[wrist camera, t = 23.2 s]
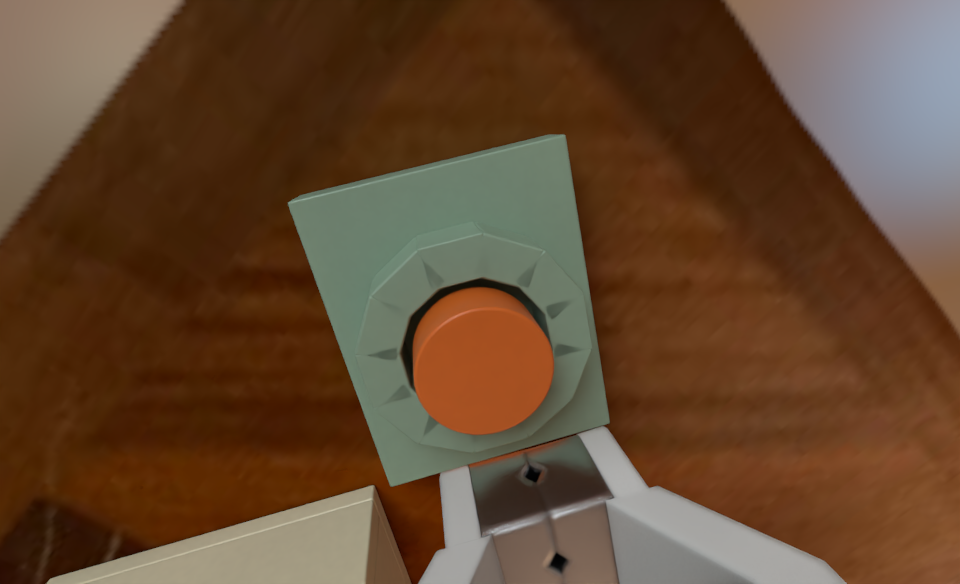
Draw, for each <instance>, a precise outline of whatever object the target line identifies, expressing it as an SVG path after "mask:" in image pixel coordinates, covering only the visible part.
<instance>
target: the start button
mask: <svg viewBox="0 0 960 584" xmlns="http://www.w3.org/2000/svg"><path fill="white" fill-rule="evenodd" d="M553 374H554V357H553V352H552V348H551V345H550V343H549V340H548V338H547V337H546V335H545V333H544V332H543V330H542V329H541V328H540V326H539V325H538V323H537V322H536V321H535V319H534V318H533V316H532V315H531V314H530V312H529V311H528V310H527V308H526V307H525V306H524V305H523V304H522V303H521V302H520V301H519V300H518V299H516V298H515V297H513V296H512V295H510V294H508V293H506V292H504V291H501V290H498V289H494V288H488V287H471V288H465V289H461V290H458V291H455V292H452V293H450V294H448V295H446V296H445V297H443V298H441V299H440V300H438V301H437V302H436V303H435V304H434V305H432V306H431V307H430V308H429V310H428V311H427V312H426V313H425V314H424V316H423V317H422V319H421V320H420V322H419V324H418V326H417V329H416V332H415V335H414V340H413V377H414V386H415V390H416V394H417V396H418V399H419V401H420V403H421V404H422V406H423V408H424V409H425V410H426V411H427V413H428V414H429V415H430V416H431V417H432V418H433V419H434V420H436V421H437V422H439V423H440V424H441V425H443V426H445V427H447V428H449V429H451V430H454V431H456V432H460V433H464V434H470V435H487V434H494V433H498V432H502V431H505V430H507V429H510V428H512V427H514V426H516V425H518V424H519V423H521V422H523V421H524V420H525V419H527V418H528V417H529V416H531V415H532V414H533V413H534V412H535V411H536V410H537V408H538V407H539V406H540V405H541V403H542V402H543V400H544V399H545V397H546V395H547V393H548V391H549V389H550V386H551V383H552V379H553Z"/></svg>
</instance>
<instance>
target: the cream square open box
mask: <svg viewBox="0 0 960 584" xmlns="http://www.w3.org/2000/svg"><path fill="white" fill-rule="evenodd" d="M46 584H411V581H410V578H409V576H408V573H407V570H406V568H405V565H404V562H403V560H402V557H401V554H400V552H399V549H398V546H397V544H396V541H395V538H394V536H393V533H392V531H391V528H390V525H389V523H388V520H387V517H386V515H385V512H384V509H383V507H382V504H381V501H380V499H379V496H378V493H377V491H376V488H375V486H374V485H371V486H368V487H365V488H361V489H358V490H354V491H351V492H347V493H344V494H340V495H337V496H333V497H330V498H327V499H323V500H320V501H316V502H313V503H309V504H306V505H302V506H299V507H295V508H292V509H289V510H285V511H282V512H278V513H275V514H271V515H268V516H264V517H261V518H258V519H254V520H251V521H247V522H244V523H240V524H237V525H233V526H230V527H226V528H223V529H220V530H216V531H213V532H209V533H206V534H202V535H199V536H195V537H192V538H188V539H185V540H182V541H178V542H175V543H171V544H168V545H164V546H161V547H157V548H154V549H150V550H147V551H144V552H140V553H137V554H133V555H130V556H126V557H123V558H119V559H116V560H112V561H109V562H106V563H102V564H99V565H95V566H92V567H88V568H85V569H81V570H78V571H74V572H71V573H68V574H64V575H61V576H57V577H54V578H51V579H50V580H49V581H48V582H47V583H46Z"/></svg>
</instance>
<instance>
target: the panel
mask: <svg viewBox="0 0 960 584" xmlns="http://www.w3.org/2000/svg"><path fill="white" fill-rule="evenodd" d="M288 206H289V209H290V212H291V214H292V217H293V220H294V223H295V225H296V228H297V231H298V234H299V236H300V239H301V242H302V245H303V247H304V250H305V253H306V256H307V258H308V261H309V264H310V267H311V269H312V272H313V275H314V278H315V280H316V283H317V286H318V289H319V291H320V294H321V297H322V300H323V302H324V305H325V308H326V311H327V313H328V316H329V319H330V322H331V324H332V327H333V330H334V333H335V335H336V338H337V341H338V344H339V346H340V349H341V352H342V355H343V357H344V360H345V363H346V366H347V368H348V371H349V374H350V377H351V379H352V382H353V385H354V388H355V390H356V393H357V396H358V399H359V401H360V404H361V407H362V410H363V412H364V415H365V418H366V421H367V423H368V426H369V429H370V432H371V434H372V437H373V440H374V443H375V445H376V448H377V451H378V454H379V456H380V459H381V462H382V465H383V467H384V470H385V473H386V476H387V478H388V481H389V484H390V486H391V487H393V486H396V485H400V484H403V483H407V482H410V481H413V480H417V479H420V478H424V477H427V476H431V475H434V474H438V473H441V472H444V471H447V470H451V469H455V468H458V467H462V466H465V465H468V464H472V463H475V462H479V461H482V460H486V459H489V458H493V457H496V456H499V455H503V454H506V453H510V452H513V451H517V450H520V449H524V448H527V447H530V446H534V445H537V444H541V443H544V442H548V441H551V440H554V439H558V438H561V437H565V436H568V435H572V434H575V433H579V432H582V431H585V430H589V429H592V428H596V427H599V426H603V425H606V424H609V423H610V419H609V413H608V406H607V400H606V393H605V387H604V381H603V374H602V368H601V361H600V355H599V348H598V342H597V335H596V329H595V322H594V316H593V309H592V303H591V297H590V290H589V284H588V277H587V271H586V264H585V258H584V251H583V245H582V238H581V232H580V225H579V219H578V213H577V206H576V200H575V193H574V187H573V180H572V174H571V167H570V161H569V154H568V148H567V141H566V136H565V135H545V136H541V137H537V138H533V139H529V140H525V141H521V142H517V143H512V144H508V145H504V146H500V147H496V148H492V149H488V150H484V151H480V152H476V153H472V154H467V155H463V156H459V157H455V158H451V159H447V160H443V161H439V162H435V163H431V164H426V165H422V166H418V167H414V168H410V169H406V170H402V171H398V172H394V173H390V174H385V175H381V176H377V177H373V178H369V179H365V180H361V181H357V182H353V183H349V184H345V185H340V186H336V187H332V188H328V189H324V190H320V191H316V192H312V193H308V194H304V195H301V196H299V197H297V198H295V199H293V200H291V201H290V202H288ZM471 287H488V288H494V289H498V290H501V291H504V292H506V293H508V294H510V295H512V296H513V297H515V298H516V299H518V300H519V301H520V302H521V303H522V304H523V305H524V306H525V307H526V308H527V310H528V311H529V312H530V314H531V315H532V316H533V318H534V319H535V321H536V322H537V323H538V325H539V326H540V328H541V329H542V330H543V332H544V333H545V335H546V337H547V338H548V340H549V343H550V345H551V348H552V352H553V357H554V374H553V379H552V383H551V386H550V389H549V391H548V393H547V395H546V397H545V399H544V400H543V402H542V403H541V405H540V406H539V407H538V408H537V410H536V411H535V412H534V413H533V414H532V415H531V416H529V417H528V418H527V419H525V420H524V421H523V422H521V423H519V424H518V425H516V426H514V427H512V428H510V429H507V430H505V431H502V432H498V433H494V434H487V435H470V434H464V433H460V432H456V431H454V430H451V429H449V428H447V427H445V426H443V425H441V424H440V423H439V422H437V421H436V420H434V419H433V418H432V417H431V416H430V415H429V414H428V413H427V411H426V410H425V409H424V408H423V406H422V404H421V403H420V401H419V399H418V396H417V394H416V390H415V386H414V377H413V340H414V335H415V332H416V329H417V326H418V324H419V322H420V320H421V319H422V317H423V316H424V314H425V313H426V312H427V311H428V310H429V308H430V307H431V306H432V305H434V304H435V303H436V302H437V301H438V300H440V299H441V298H443V297H445V296H446V295H448V294H450V293H452V292H455V291H458V290H461V289H465V288H471Z"/></svg>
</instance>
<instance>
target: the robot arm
mask: <svg viewBox="0 0 960 584" xmlns="http://www.w3.org/2000/svg"><path fill="white" fill-rule="evenodd" d="M439 479H440V490H441V502H442V513H443V524H444V536H445V547H446V548H445V549H442V550H438V551H436V553H435V555H434V556H433V558H432V560H431V562H430V563H429V565H428V567H427V569H426V571H425V572H424V574H423V576H422V578H421V579H420V581H419V583H418V584H847V583H846V582H845V581H844V580H843V579H842V578H841V577H840V576H839V575H838V574H837V573H836V572H835V571H834V570H833V569H832V568H831V567H830V566H829V565H828V564H827V563H826V562H825V561H823V560H821V559H819V558H817V557H815V556H812V555H810V554H808V553H806V552H803V551H801V550H799V549H797V548H795V547H792V546H790V545H788V544H786V543H784V542H781V541H779V540H777V539H775V538H772V537H770V536H768V535H766V534H764V533H761V532H759V531H757V530H755V529H753V528H750V527H748V526H746V525H744V524H741V523H739V522H737V521H735V520H733V519H730V518H728V517H726V516H724V515H722V514H719V513H717V512H715V511H713V510H710V509H708V508H706V507H704V506H702V505H699V504H697V503H695V502H693V501H691V500H688V499H686V498H684V497H682V496H679V495H677V494H675V493H673V492H671V491H668V490H666V489H664V488H662V487H659V486H655V487H651V488H649V487H648V486H647V484H646V483H645V482H644V480H643V479H642V477H641V476H640V474H639V473H638V471H637V470H636V469H635V467H634V466H633V464H632V463H631V461H630V460H629V459H628V457H627V456H626V454H625V453H624V451H623V450H622V448H621V447H620V446H619V444H618V443H617V441H616V440H615V438H614V437H613V436H612V434H611V433H610V431H609V430H608V428H606V427H604V426H601V427H598V428H595V429H591V430H588V431H585V432H582V433H579V434H577V435H575V436H572V437H568V438H565V439H561V440H558V441H554V442H551V443H547V444H544V445H541V446H537V447H534V448H530V449H527V450H522V451H518V452H515V453H511V454H507V455H503V456H499V457H495V458H491V459H488V460H484V461H480V462H476V463H472V464H469V466H468V465H466V466H462V467H458V468H455V469H451V470H447V471H444V472H441V474H440V478H439Z"/></svg>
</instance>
